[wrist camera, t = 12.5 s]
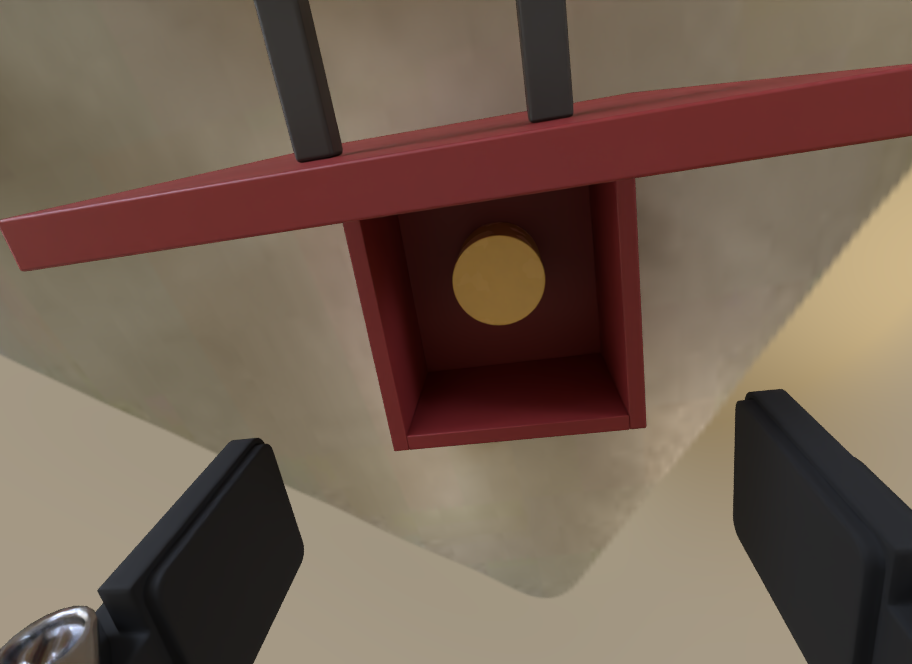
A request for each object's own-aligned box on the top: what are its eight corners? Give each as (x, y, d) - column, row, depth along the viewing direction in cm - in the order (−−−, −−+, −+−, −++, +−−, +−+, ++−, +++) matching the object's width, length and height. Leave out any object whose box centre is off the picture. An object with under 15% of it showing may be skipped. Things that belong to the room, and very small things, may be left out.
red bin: (612, 357, 34) (647, 428, 26) (419, 378, 36) (394, 451, 27) (596, 113, 29) (632, 104, 21) (374, 151, 31) (327, 156, 23)
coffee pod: (535, 216, 31) (540, 228, 26) (544, 295, 32) (550, 319, 28) (453, 228, 31) (445, 242, 27) (465, 305, 33) (459, 330, 29)
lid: (931, 133, 6) (1050, -592, 4) (20, 273, 8) (-212, -201, 6) (635, 114, 21) (629, -57, 19) (326, 166, 22) (289, 14, 20)
